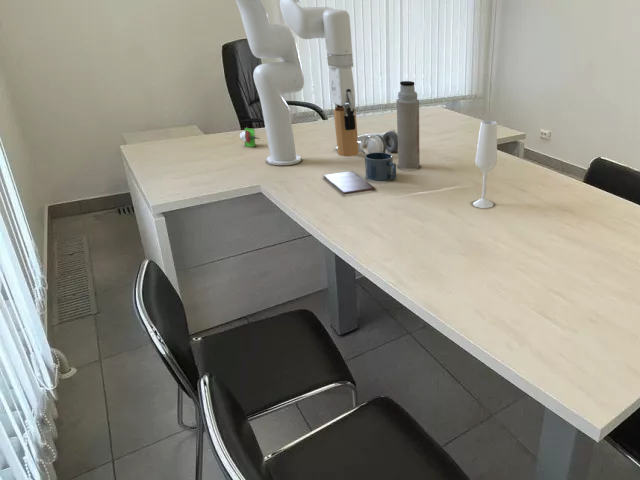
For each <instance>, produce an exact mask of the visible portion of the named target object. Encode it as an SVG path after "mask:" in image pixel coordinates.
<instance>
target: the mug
mask: <svg viewBox="0 0 640 480" xmlns="http://www.w3.org/2000/svg"><path fill="white" fill-rule="evenodd" d="M364 167H365V168H364V170H365V178H366V179H367V180H369V181H373V182H386V181H390V180H394V181H395V180H397V176H398V175H397V163H395V162H394V158H393V154H391V153H389V152H385V153H383V152H375V153H369V152H368V153H367V154H366V155H365V154H364Z"/></svg>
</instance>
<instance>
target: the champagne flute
mask: <svg viewBox="0 0 640 480" xmlns="http://www.w3.org/2000/svg"><path fill="white" fill-rule="evenodd" d="M478 132H479V133H478V140H477V147H476V153H475V160H474V163H475V166H476V167H477V168H478V170H479V171H480V172H481V173H482V189H481V198H479V199H478V200H475V201H474V202H473V203H472V205H473V206H474V207H476V208H480V209H489V208H493V207H494V203H493V202H492V201H490V200H488V199H487V198H486V196H487V195H486V194H487V183H488V173H490V172H491V171H492V170H493V169H495V168H496V166H497V164H498V122H497V121H495V120H481V121H480V126H479V131H478Z"/></svg>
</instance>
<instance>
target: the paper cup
mask: <svg viewBox="0 0 640 480" xmlns="http://www.w3.org/2000/svg"><path fill="white" fill-rule="evenodd" d="M346 108H347V109H348V107H346ZM354 109H355V110H354V113H355V115H354V117H355V129H354V130H346V129H345V121H344V116H345V112H344V108H343V107H339V108H335V107H334V108H333V119H334V128H335V138H336V146H337V149H338V150H337V155H339V156H340V157H357V156H358V155H359V154H360V153H359V148H358V136H359V135H358V123H357V112H356V111H357V110H356V108H354Z"/></svg>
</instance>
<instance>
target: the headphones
mask: <svg viewBox="0 0 640 480" xmlns="http://www.w3.org/2000/svg"><path fill="white" fill-rule="evenodd" d="M364 146H366V150H365V148H364ZM358 148H359V154H360V153H363V154H364V156H365V155H366V154H369V153H375V152H383V153H386V151H387V152H388V153H394V152H398V135H397V131H396V130H395V129H390V130H388V131H385V132H384V133H382V132H377V133H366V134H361V135H358ZM333 151H338V149H337V145H336V146H335V147H334V148H333ZM366 151H367V152H366Z"/></svg>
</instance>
